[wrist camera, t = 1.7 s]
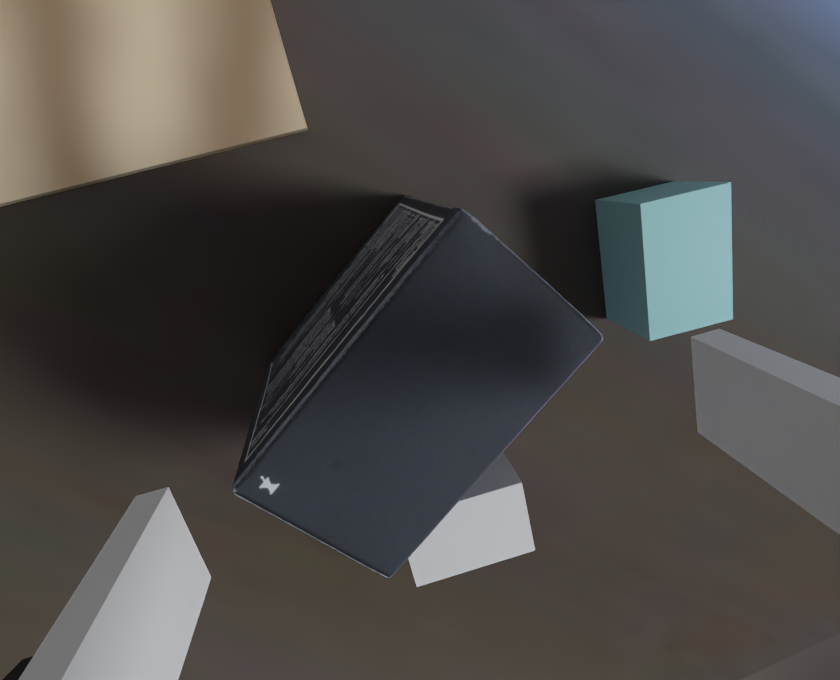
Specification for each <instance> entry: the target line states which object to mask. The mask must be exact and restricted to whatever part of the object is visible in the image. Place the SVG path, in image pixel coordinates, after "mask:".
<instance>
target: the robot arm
mask: <svg viewBox="0 0 840 680" xmlns="http://www.w3.org/2000/svg"><path fill="white" fill-rule="evenodd" d="M691 347H692V361H693V375H694V389H695V402H696V416H697V430H698V433H700V434H701V435H702V436H704V437H705V438H707V439H708V440H709V441H711V442H712V443H713V444H715V445H716V446H718V447H719V448H720V449H722V450H723V451H725V452H726V453H727V454H729V455H730V456H731V457H733V458H734V459H736V460H737V461H738V462H740V463H741V464H742V465H744V466H745V467H747V468H748V469H749V470H751V471H752V472H754V473H755V474H756V475H758V476H759V477H760V478H762V479H763V480H765V481H766V482H767V483H769V484H770V485H772V486H773V487H774V488H776V489H777V490H778V491H780V492H781V493H783V494H784V495H785V496H787V497H788V498H790V499H791V500H792V501H794V502H795V503H796V504H798V505H799V506H801V507H802V508H803V509H805V510H806V511H807V512H809V513H810V514H812V515H813V516H814V517H816V518H817V519H819V520H820V521H821V522H823V523H824V524H825V525H827V526H828V527H830V528H831V529H832V530H834V531H835V532H837V533H838V534H839V535H840V378H839V377H836V376H834V375H832V374H829V373H827V372H824V371H822V370H819V369H817V368H814V367H812V366H810V365H807V364H805V363H802V362H800V361H797V360H795V359H792V358H790V357H787V356H785V355H783V354H780V353H778V352H775V351H773V350H770V349H768V348H765V347H763V346H760V345H758V344H756V343H753V342H751V341H748V340H746V339H743V338H741V337H738V336H736V335H734V334H731V333H729V332H726V331H724V330H721V329H717V330H713V331H710V332H706V333H703V334H699V335H696V336H692V337H691ZM210 580H211V576H210V574H209V572H208V569H207V567H206V565H205V563H204V561H203V559H202V557H201V555H200V553H199V550H198V548H197V546H196V544H195V542H194V540H193V538H192V536H191V534H190V532H189V529H188V527H187V525H186V523H185V521H184V519H183V517H182V515H181V513H180V510H179V508H178V506H177V504H176V502H175V500H174V498H173V496H172V494H171V491H170V489H169V487H166V488H163V489H159V490H156V491H152V492H149V493H145V494H142V495H138V496H136V497H135V498H134V500H133V501H132V503H131V504H130V506H129V507H128V509H127V511H126V512H125V514H124V515H123V517H122V518H121V520H120V522H119V523H118V525H117V526H116V528H115V529H114V531H113V532H112V534H111V536H110V537H109V539H108V540H107V542H106V543H105V545H104V547H103V548H102V550H101V551H100V553H99V554H98V556H97V558H96V559H95V561H94V562H93V564H92V565H91V567H90V568H89V570H88V572H87V573H86V575H85V576H84V578H83V579H82V581H81V583H80V584H79V586H78V587H77V589H76V590H75V592H74V593H73V595H72V597H71V598H70V600H69V601H68V603H67V604H66V606H65V608H64V609H63V611H62V612H61V614H60V615H59V617H58V618H57V620H56V622H55V623H54V625H53V626H52V628H51V629H50V631H49V633H48V634H47V636H46V637H45V639H44V640H43V642H42V643H41V645H40V647H39V648H38V650H37V651H36V653H35V654H34V656H33V657H29V658H26V659H23V660H22V661H21V662H20V663H19V664H18V665H17V666H16V667H15V668H14V669H13V670H12V671H11V672H10V673H9V674H8V675H7V676H6V677H5V678H4V679H3V680H178V679H179V676H180V673H181V670H182V666H183V663H184V660H185V657H186V654H187V651H188V648H189V645H190V642H191V639H192V636H193V632H194V629H195V626H196V623H197V620H198V617H199V614H200V611H201V608H202V605H203V602H204V598H205V595H206V592H207V589H208V586H209V583H210Z"/></svg>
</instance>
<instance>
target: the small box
mask: <svg viewBox="0 0 840 680" xmlns="http://www.w3.org/2000/svg"><path fill="white" fill-rule="evenodd" d="M602 340H603V337H602V334H601V333H600V332H599V331H598V330H597V329H596V328H595V327H594V326H593V325H592V324H591V323H590V322H589V321H588V320H587V319H586V318H585V317H584V316H583V315H582V314H581V313H580V312H579V311H578V310H577V309H576V308H574V307H573V306H572V305H571V304H570V303H569V302H568V301H567V300H566V299H565V298H564V297H563V296H562V295H560V294H559V293H558V292H557V291H556V290H555V289H554V288H553V287H552V286H551V285H550V284H549V283H547V282H546V281H545V280H544V279H543V278H542V277H540V276H539V275H538V274H537V273H536V272H535V271H534V270H533V269H532V268H531V267H530V266H528V265H527V264H526V263H525V262H524V261H523V260H522V259H521V258H519V257H518V256H517V255H516V254H515V253H514V252H513V251H512V250H511V249H509V248H508V247H507V246H506V245H505V244H504V243H503V242H502V241H500V240H499V239H498V238H497V237H496V236H495V235H494V234H493V233H492V232H490V231H489V230H488V229H487V228H486V227H485V226H483V225H482V224H481V223H480V222H479V221H478V220H477V219H476V218H475V217H474V216H473V215H472V214H470V213H469V212H468V211H466V210H464V209H461V208H449V207H446V208H445V207H442V206H438V205H435V204H433V203H428V202H424V201H420V200H417V199H413V198H412V197H410V196H408V195H403V196H402V197H401V198H400V199H399V201H398V202H397V204H396V205H395V206H394V207H393V208H392V210H391V211H390V212H389V213H388V214H387V215H386V217H385V218H384V219H383V220H382V222H381V223H380V224H379V225H378V227H377V228H376V229H375V230H374V232H373V233H372V234H371V235H370V237H369V238H368V239H367V240H366V242H365V243H364V244H363V245H362V247H361V248H360V249H359V250H358V251H357V252H356V253H355V254H354V256H353V258H352V259H351V260H350V261H349V263H348V264H347V265H346V266H345V268H344V269H343V270H342V271H341V273H340V274H339V275H338V277H337V278H336V279H335V280H334V281H333V283H332V284H331V285H330V286H329V287H328V289H327V290H326V291H325V293H324V294H323V295H322V296H321V297H320V298H319V299H318V300H317V302H316V303H315V304H314V306H313V307H312V308H311V309H310V311H309V312H308V314H307V315H306V316H305V317H304V318H303V320H302V321H301V322H300V323H299V324H298V326H297V327H296V328H295V330H294V331H293V332H292V333H291V335H290V336H289V338H288V339H287V340H286V342H285V343H284V344H283V345H282V347H281V348H280V349H279V350H278V352H277V353H276V354H275V356H274V357H273V358H272V360H271V361H270V362H269V363H268V364H267V366H266V372H265V375H264V381H263V384H262V389H261V392H260V397H259V400H258V403H257V407H256V412H255V414H254V415H253V418H252V422H251V425H250V429H249V433H248V435H247V439H246V443H245V446H244V448H243V454H242V456H241V459H240V462H239V467H238V470H237V474H236V476H235V480H234V483H233V486H232V490H233V494H234V495H236V496H237V497H239V498H241V499H243V500H245V501H246V502H248V503H251V504H253V505H254V506H256V507H258V508H260V509H262V510H264V511H266V512H267V513H269V514H271V515H273V516H274V517H276V518H278V519H280V520H282V521H284V522H285V523H287V524H289V525H290V526H292V527H294V528H296V529H298V530H300V531H302V532H303V533H305V534H307V535H309V536H311V537H313V538H315V539H316V540H318V541H320V542H321V543H323V544H325V545H327V546H329V547H331V548H332V549H334V550H336V551H338V552H339V553H341V554H343V555H345V556H347V557H348V558H350V559H352V560H354V561H356V562H358V563H359V564H361V565H363V566H365V567H367V568H369V569H371V570H372V571H374V572H376V573H378V574H380V575H381V576H383V577H385V578H390V577H392V576H393V575H394V574H395V573H396V572H397V570H398V569H399V568H400V567H401V566H402V565H403V564H404V562H405V561H406V560H407V559H408V558H409V557H410V556H411V554H412V553H413V552H414V551H415V550H416V549H417V548H418V547H419V546H420V545H421V544H422V542H423V541H424V540H425V539H426V538H427V537H428V536H429V534H430V533H431V532H432V531H433V530H434V529H435V528H436V526H437V525H438V524H439V523H440V522H441V521H442V520H443V519H444V517H445V516H446V515H447V514H448V513H449V512H450V511H451V509H452V508H453V507H454V506H455V505H456V504H457V503H458V502H459V500H460V499H461V498H462V497H463V496H464V495H465V494H466V493H467V491H468V490H469V489H470V488H471V487H472V486H473V485H474V484H475V482H476V481H477V480H478V479H479V478H480V477H481V476H482V475H483V473H484V472H485V471H486V470H487V469H488V468H489V467H490V466H491V464H492V463H493V462H494V461H495V460H496V459H497V458H498V457H499V456H500V454H501V453H502V452H503V451H504V450H505V449H506V448H507V447H508V446H509V444H510V443H511V442H512V441H513V440H514V439H515V438H516V437H517V435H518V434H519V433H520V432H521V431H522V430H523V429H524V428H525V427H526V425H527V424H528V423H529V422H530V421H531V420H532V419H533V418H534V416H535V415H536V414H537V413H538V412H539V411H540V410H541V409H542V408H543V406H544V405H545V404H546V403H547V402H548V401H549V400H550V399H551V398H552V396H553V395H554V394H555V393H556V392H557V391H558V390H559V389H560V388H561V386H562V385H563V384H564V383H565V382H566V381H567V380H568V379H569V378H570V376H571V375H572V374H573V373H574V372H575V371H576V370H577V369H578V367H579V366H580V365H581V364H582V363H583V362H584V361H585V360H586V359H587V358H588V357H589V356H590V354H591V353H592V352H593V351H594V350H595V349H596V348H597V346H598V345H599V344H600V343H601V342H602Z"/></svg>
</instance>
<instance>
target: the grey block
mask: <svg viewBox="0 0 840 680" xmlns="http://www.w3.org/2000/svg"><path fill="white" fill-rule="evenodd" d="M532 551H535V547H534V542H533V537H532V532H531V527H530V521H529V516H528V511H527V506H526V501H525V496H524V491H523V486H522V482H521V480H520V479H519V477H518V475H517V474H516V472H515V470H514V469H513V467H512V465H511V464H510V462H509V461H508V459H507V457H506V456H505V454H504V452H502V453H501V454H500V456H499V457H498V458H497V459H496V460H495V461H494V462H493V463H492V464H491V466H490V467H489V468H488V469H487V470H486V471H485V472H484V473H483V475H482V476H481V477H480V478H479V479H478V480H477V481H476V482H475V484H474V485H473V486H472V487H471V488H470V489H469V490H468V491H467V493H466V494H465V495H464V496H463V497H462V498H461V499H460V500H459V502H458V503H457V504H456V505H455V506H454V507H453V508H452V509H451V511H450V512H449V513H448V514H447V515H446V516H445V517H444V519H443V520H442V521H441V522H440V523H439V524H438V525H437V526H436V528H435V529H434V530H433V531H432V532H431V533H430V534H429V536H428V537H427V538H426V539H425V540H424V541H423V542H422V544H421V545H420V546H419V547H418V548H417V549H416V550H415V551H414V552H413V553H412V554H411V556H410V557H409V558H408V559H409V563H410V566H411V569H412V573H413V576H414V579H415V583H416V586H417V587H419V586H422V585H425V584H428V583H432V582H435V581H438V580H441V579H445V578H448V577H451V576H454V575H457V574H461V573H464V572H467V571H470V570H474V569H477V568H480V567H483V566H486V565H490V564H493V563H496V562H499V561H503V560H506V559H509V558H512V557H515V556H519V555H522V554H525V553H528V552H532Z"/></svg>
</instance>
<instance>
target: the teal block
mask: <svg viewBox="0 0 840 680" xmlns="http://www.w3.org/2000/svg"><path fill="white" fill-rule="evenodd" d="M595 204H596V214H597V225H598V235H599V245H600V255H601V266H602V276H603V286H604V296H605V307H606V317H607V319H608V320H610V321H612V322H614V323H616V324H618V325H620V326H622V327H624V328H626V329H628V330H630V331H632V332H634V333H636V334H637V335H639V336H641V337H643V338H645V339H647V340H649V341H652V340H656V339H659V338H663V337H667V336H671V335H675V334H678V333H682V332H686V331H690V330H693V329H697V328H701V327H705V326H709V325H712V324H716V323H720V322H724V321H727V320H731V319H733V285H732V218H731V182H678V181H673V182H669V183H665V184H660V185H656V186H652V187H648V188H644V189H639V190H635V191H631V192H627V193H622V194H618V195H614V196H610V197H606V198H601V199H597V200H595Z"/></svg>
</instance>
